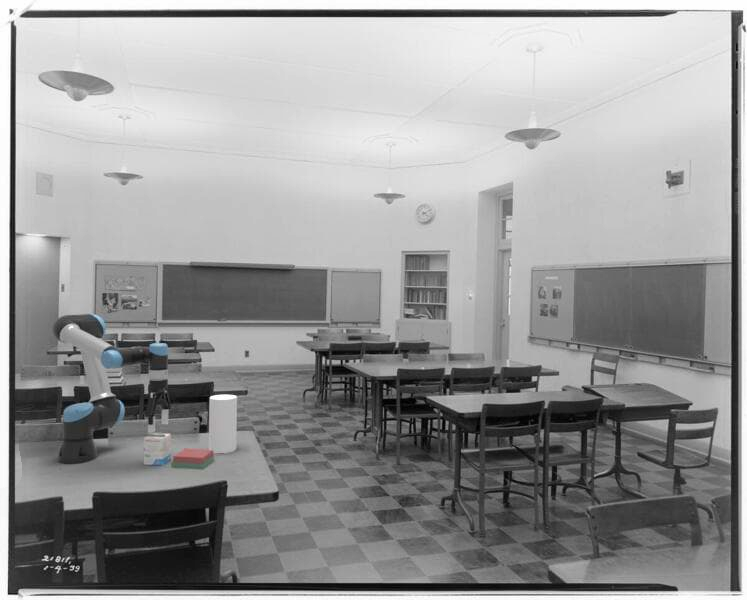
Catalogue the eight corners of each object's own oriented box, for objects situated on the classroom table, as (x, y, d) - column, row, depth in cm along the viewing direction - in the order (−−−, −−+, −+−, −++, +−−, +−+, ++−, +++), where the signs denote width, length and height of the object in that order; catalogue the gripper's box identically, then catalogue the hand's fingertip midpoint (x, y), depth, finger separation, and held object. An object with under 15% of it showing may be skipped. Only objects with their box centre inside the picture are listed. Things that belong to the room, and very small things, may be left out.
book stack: (171, 468, 234) (171, 456, 234) (183, 459, 246) (183, 448, 246) (203, 469, 233) (203, 458, 233) (214, 461, 245) (214, 449, 245)
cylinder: (231, 444, 269) (232, 393, 269) (239, 451, 259) (240, 398, 258) (205, 448, 262) (206, 395, 262) (213, 455, 252) (214, 400, 251)
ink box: (171, 459, 244) (171, 429, 244) (162, 465, 236) (162, 434, 236) (152, 458, 245) (153, 428, 245) (142, 464, 237) (143, 433, 236)
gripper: (154, 384, 227) (154, 435, 227) (178, 374, 252) (178, 421, 252) (136, 383, 227) (136, 435, 228) (162, 374, 252) (162, 420, 253)
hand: (158, 428), depth 240 cm, fingers open, 13 cm apart
